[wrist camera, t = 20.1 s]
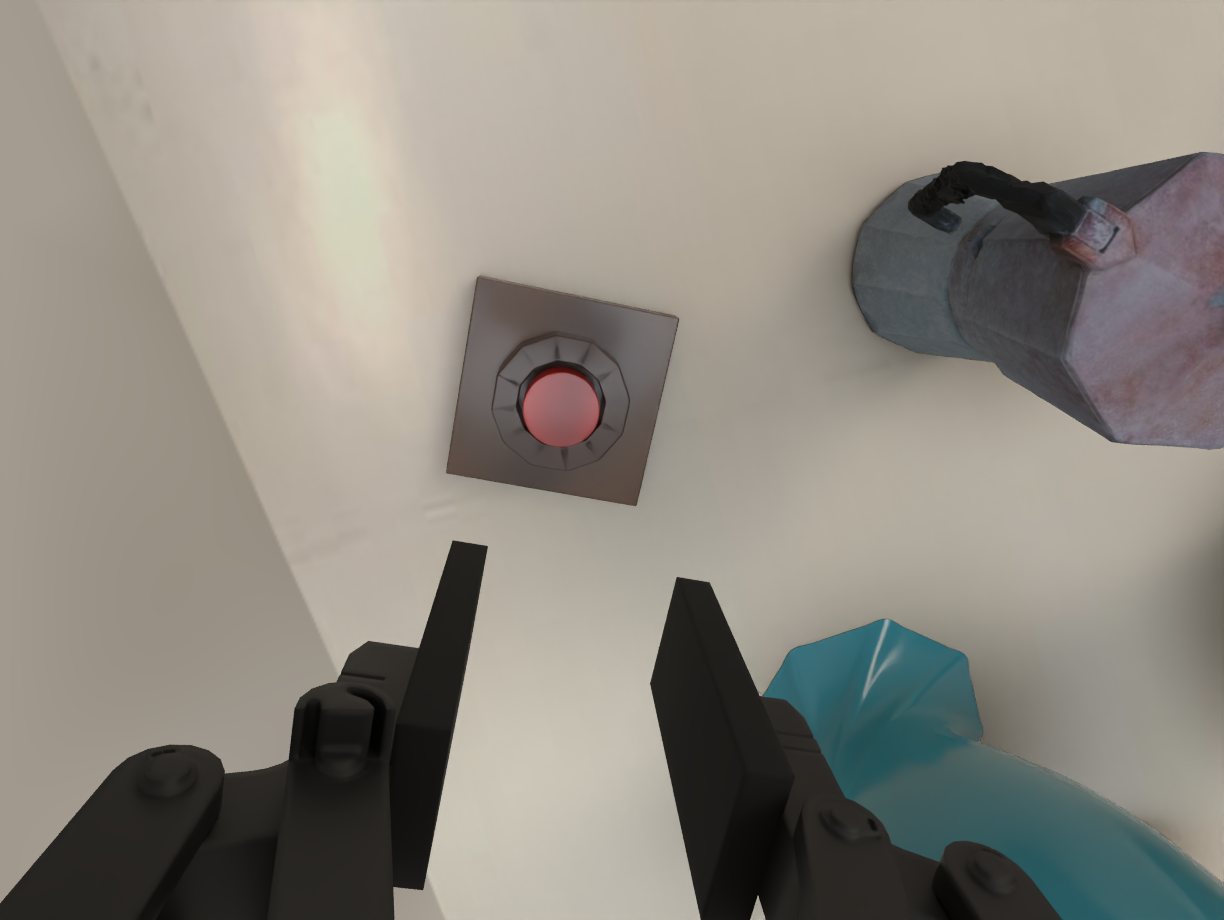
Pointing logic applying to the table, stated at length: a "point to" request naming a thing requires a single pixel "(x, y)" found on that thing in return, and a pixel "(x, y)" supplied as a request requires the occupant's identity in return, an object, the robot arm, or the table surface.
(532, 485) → the control block
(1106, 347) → the moka pot
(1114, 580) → the table surface
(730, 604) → the table surface
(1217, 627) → the table surface
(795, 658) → the vase
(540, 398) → the button
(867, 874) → the robot arm
